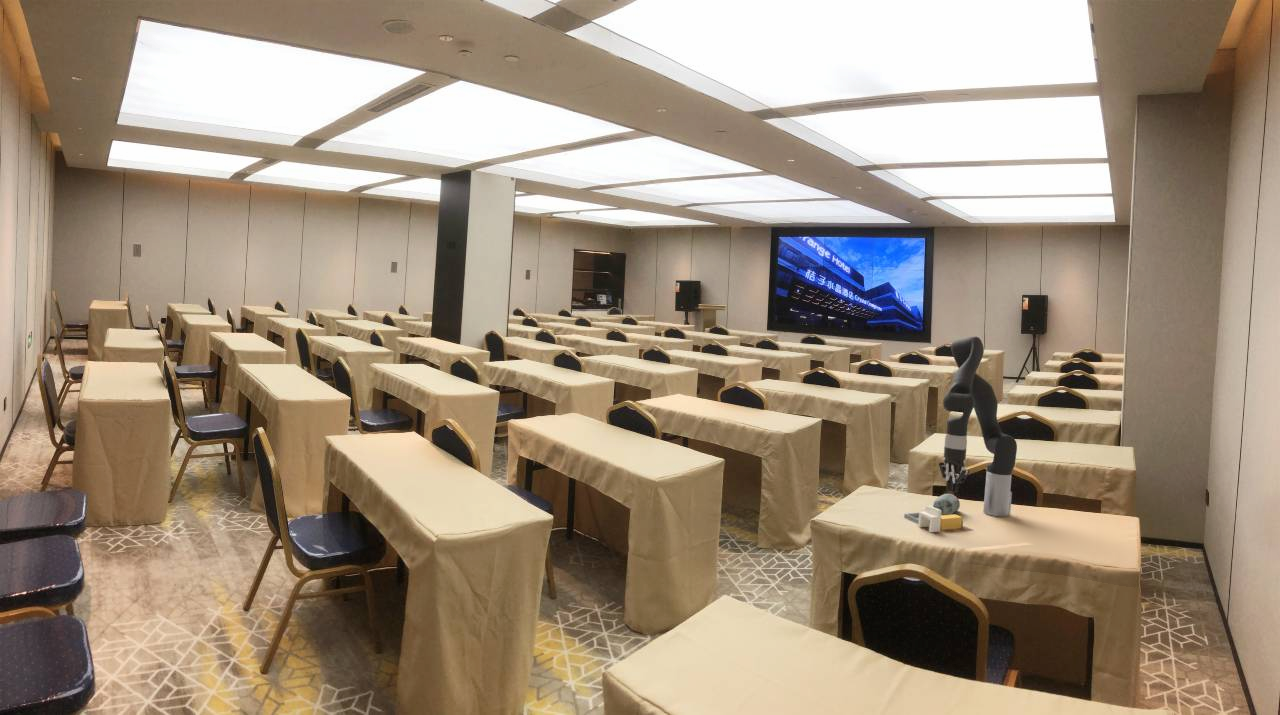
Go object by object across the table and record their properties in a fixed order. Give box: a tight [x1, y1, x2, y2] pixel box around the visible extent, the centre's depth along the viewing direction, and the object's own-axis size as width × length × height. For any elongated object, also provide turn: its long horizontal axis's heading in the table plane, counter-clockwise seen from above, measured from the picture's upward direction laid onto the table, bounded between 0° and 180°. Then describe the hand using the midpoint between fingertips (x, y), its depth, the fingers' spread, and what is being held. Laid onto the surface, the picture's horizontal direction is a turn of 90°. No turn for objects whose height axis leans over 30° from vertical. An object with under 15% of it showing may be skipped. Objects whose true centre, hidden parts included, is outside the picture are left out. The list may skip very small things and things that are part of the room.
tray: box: [903, 512, 942, 524], centre depth 282 cm, size 14×9×2 cm
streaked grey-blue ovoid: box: [932, 493, 961, 515], centre depth 293 cm, size 14×10×10 cm
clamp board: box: [916, 520, 973, 535], centre depth 273 cm, size 18×10×3 cm, turn 110°
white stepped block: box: [917, 504, 941, 533], centre depth 270 cm, size 4×7×8 cm, turn 20°
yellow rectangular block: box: [940, 513, 963, 530], centre depth 273 cm, size 9×4×4 cm, turn 110°
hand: (952, 491), depth 272 cm, fingers closed
